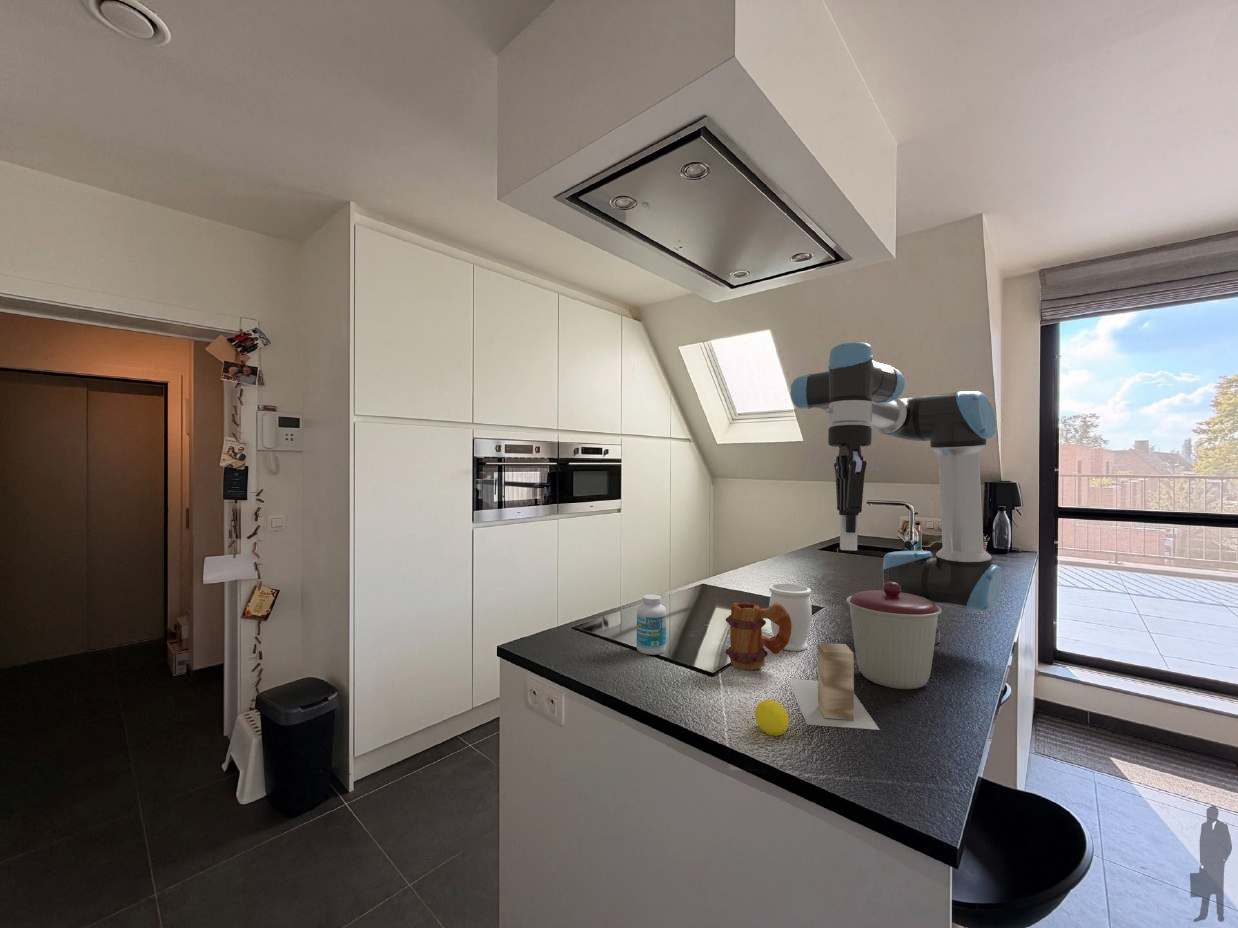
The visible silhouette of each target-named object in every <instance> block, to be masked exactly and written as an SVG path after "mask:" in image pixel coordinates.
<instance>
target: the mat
mask: <svg viewBox="0 0 1238 928" xmlns="http://www.w3.org/2000/svg"><path fill="white" fill-rule="evenodd" d="M787 682H788V684H789V686H790V688H791V690H792V693H793V695H794V697H795V700H796V702H797V704H798V707H799V709H800V711H801V714H802V716H803V718H804V721H805V723H806V725H809V726H810V725H811V726H822V727H823V726H824V727H834V728H835V727H837V728H848V729H849V728H850V729H861V730H862V729H864V730H865V729H866V730H874V731H875V730H876V731H880V730H881V729H880V728H879V727H878V725H877V723H876V721H874V720H873V718H872V716H871V715H870V714H869V712H868V711H867V709H866V707H864V705H863V703H862V702H861V701H860V699H859V698H858V697H857V695H856V694H855V693H854V721H845V720H831V719H824V717H823V715H822V713H821V711H820V709H819V707H818V680H812V679H811V680H810V679H796V678H795V679H794V678H793V679H792V678H787Z"/></svg>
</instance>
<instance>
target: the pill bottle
mask: <svg viewBox="0 0 1238 928" xmlns="http://www.w3.org/2000/svg"><path fill="white" fill-rule="evenodd" d="M641 601H642V604H640V605H638V607H637V609H636V649H637V652H639V653H641V654H644V655H647V656H648V655H650V656H655V655H656V656H657V655H661V654H663V653H664V652H665V651H666V648H667V608H666V607H665V606H664V605H663V604H661V602H662V596H661V595H658V594H645V595H642V599H641Z"/></svg>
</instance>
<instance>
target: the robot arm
mask: <svg viewBox="0 0 1238 928" xmlns="http://www.w3.org/2000/svg"><path fill="white" fill-rule="evenodd" d="M828 358H829V361H828V366H827V367H828V371H823V372H815V373H808V374H804V375H802V376H798V377H796V378H795V379H794V380H793V381H792V382H791V384H790V392H789V393H790V400H791V401H792V403H793V405H794V406H795V407H796V408H798V409H804V410H805V409H810V410H811V409H813V408H816V409H820V410H824V411H825V413H826V414H828V424H830V425H831V426H830V427H829V428H828V429H827V431H828V432H827V435H828V439H827V441H828V442H827V443H828V446H830V447H833V448H835V447H836V448H837V447H838V449H839V450H838V454H837V455H838V456H836V457H835V462H834V464H833V467H834V473H835V489H836V491H835V493H836V510H837V511H838V515H839V518H840V519H839V520H840V521H839V522H840V523H839V550H841V551H856V552H857V551H858V521H859V519H858V517H859V513H862V511H863V497H864V488H865V487H864V485H865V473H866V469H867V464H868V463H867V461H866V460H864V455H862V449H861V448H862V447H869V446H870V447H871V445H872V429H873V430H874V431H875V432H878V433H880V434H884V435H887V436H890V437H893V438H896V439H897V438H898V439H901V440H906V441H913V442H914V441H915V442H926V441H927V442H928V441H929V443H930V449H931V450H932V451H933V452H934V453H936V454H937V460H938V462H937V464H938V479H939V480H938V482H939V483H938V484H939V502H940V522H941V524H940V525H941V543H942V547H941V548H940V549H939V550H938V551H937V552H936V553H935V554H936V555H935V556H936V557H934V556H933V553H932V552H931V551H929V550H900V551H892V552H888V553H885V555H884V556H883V563H882V568H881V570H882V586H883V585H884V584H885V583H886V582H896V583H898V584H899V585H900V586H901V592H903V593H908V594H913V595H917V596H921V597H924V598H926V599H928V600H930V601H932V602H933V603H934V604H936V605H943V606H948V607H952V608H953V607H954V608H959V609H964V610H967V611H974V612H975V611H976V612H982V613H984V612H985V613H986V612H989V611H991V610H992V609H994V607H995V606H996V604H997V603H998V601H999V598H1000V595H1001V592H1002V587H1003V581H1004V580H1003V578H1004V577H1003V576H1004V575H1003V572H1002V568H1001V567H1000V566H998V565H997V564H993V560H992V555H991V554H990V553H989V552H988V551H987V550H985V548H984V533H983V531H984V529H983V528H984V527H983V526H984V525H983V510H982V507H983V506H982V489H981V466H980V465H981V464H980V463H981V462H980V453H981V452H982V450H983V449H985V448H986V447H987V440H988V439H991V438H993V437H994V435H996V434H995V433H996V426H997V424H996V422H997V421H996V416H995V411H994V409H993V406H992V404H991V401H990V399H989V398H988V397H987V395H985V393H983V392H981V391H978V390H975V391H974V390H971V391H970V390H969V391H968V390H967V391H961V390H960V391H957V392H950V393H948V392H947V393H940V394H931V395H930V394H929V395H923V396H922V395H921V396H913V397H904V398H900V396H901V395H902V393H903V392H904V389H905V383H906V381H905V378H904V375H903V374H902V372H901V371H900V370H899V369H896V368H895V367H893V366H892V365H890V364H886V363H881V362H878V361H875V360H873V358H874V355H873V348H872V345H871V344H869V343H867V342H862V341H861V342H859V341H856V342H855V341H854V342H846V343H840V344H838V345H834V346H833V347H832V348H831V349H830V352H829V357H828ZM882 590H883V589H882ZM883 591H884V590H883ZM940 642H941V632H940V629H939V625H938V624H937V628H936V636H935V645H936V644H939V643H940Z"/></svg>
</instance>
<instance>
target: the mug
mask: <svg viewBox="0 0 1238 928" xmlns="http://www.w3.org/2000/svg"><path fill="white" fill-rule="evenodd" d="M765 619H768V620H769V621H770V622H771V621H772V622H774V623H775V624H777V625H779V632H778V634H777V635H776V637H775V636H774V637H773V638H769V637H767V636H764V635H763V634H762V633H763V630H762V629H763V627H764V626H765V625H766V624H767V621H766V620H765ZM725 621H726V623H728V625H729V626H730V629H729V630H730V631H729V633H730V635H729V637H730V639H729V641H730V644H729V646H728V648H726V649H725V651H724V653H725V654H726V655H727V656H728V657H729V659H730V661H729V662H730V664H731V665H732V666H733V667H734V668H736V669H739V670H740V671H741V670H743V671H756V670H758V669H761V668H763V667H764V666H765V664H766V662H765V660H766V657H767V656H768V654H769V652H768V651H766V650H765V648H766V649H767V650H769V651H770V652H771V653H772V654H774V655H778V654H780V653H781V652H782V651H784V648H785V647H786V645H787V644H788V642H789V639H790V635H791V627H792V624H791V618H790V616H789V614H788V612H787V611H786V609H785V608H784V607H783V606H782V605H781V604H778V603H775V604H773V605H771V606H770V607H769V606H768V607H766V608H762V607H760V606H759V605H758V604H757V603H753V602H752V603H749V602H733V603H732V604H731V610H730V615H728V617H726V618H725Z"/></svg>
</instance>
